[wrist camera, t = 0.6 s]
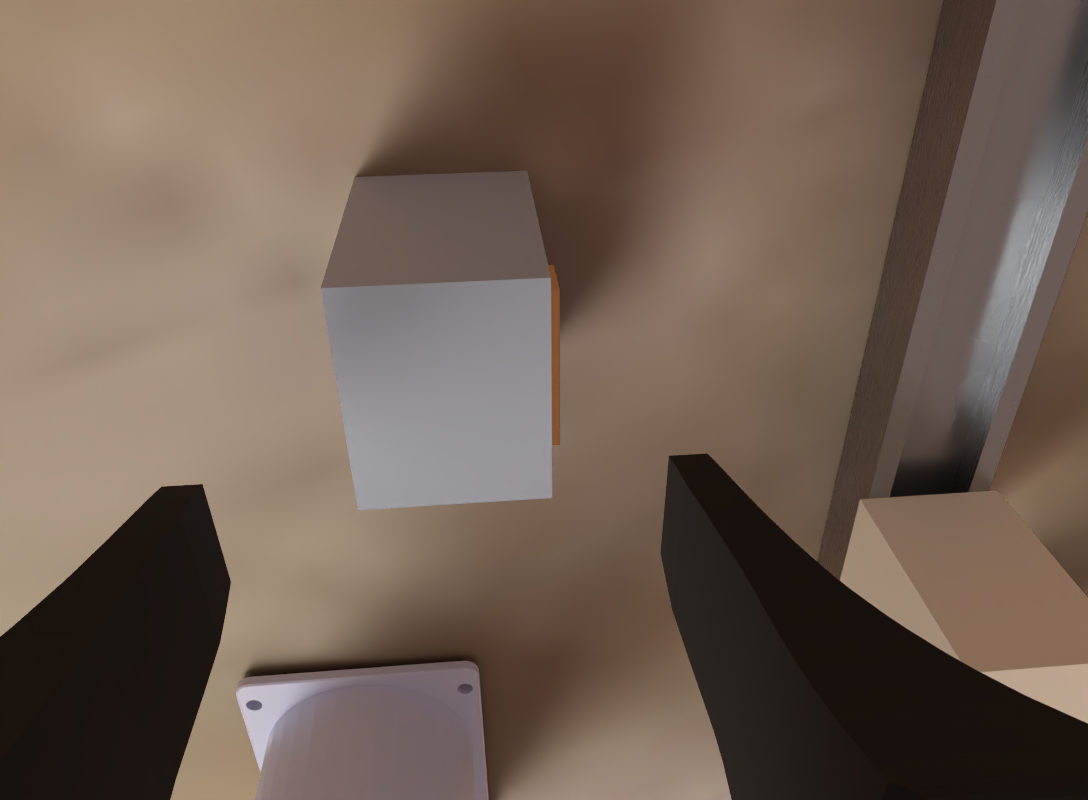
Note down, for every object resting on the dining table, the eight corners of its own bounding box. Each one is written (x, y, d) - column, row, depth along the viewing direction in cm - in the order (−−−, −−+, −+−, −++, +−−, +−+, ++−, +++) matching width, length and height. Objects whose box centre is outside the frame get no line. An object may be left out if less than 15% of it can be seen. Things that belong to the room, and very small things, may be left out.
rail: (933, 557, 28) (979, 627, 26) (803, 566, 28) (837, 638, 25) (1188, -229, 17) (1317, -242, 14) (973, -228, 16) (1066, -242, 14)
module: (540, 354, 23) (564, 497, 18) (379, 362, 22) (358, 510, 17) (537, 169, 20) (564, 276, 15) (355, 176, 20) (320, 288, 15)
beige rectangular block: (970, 591, 26) (1092, 766, 21) (834, 601, 26) (925, 781, 21) (1007, 489, 24) (1153, 658, 19) (859, 499, 24) (967, 673, 19)
